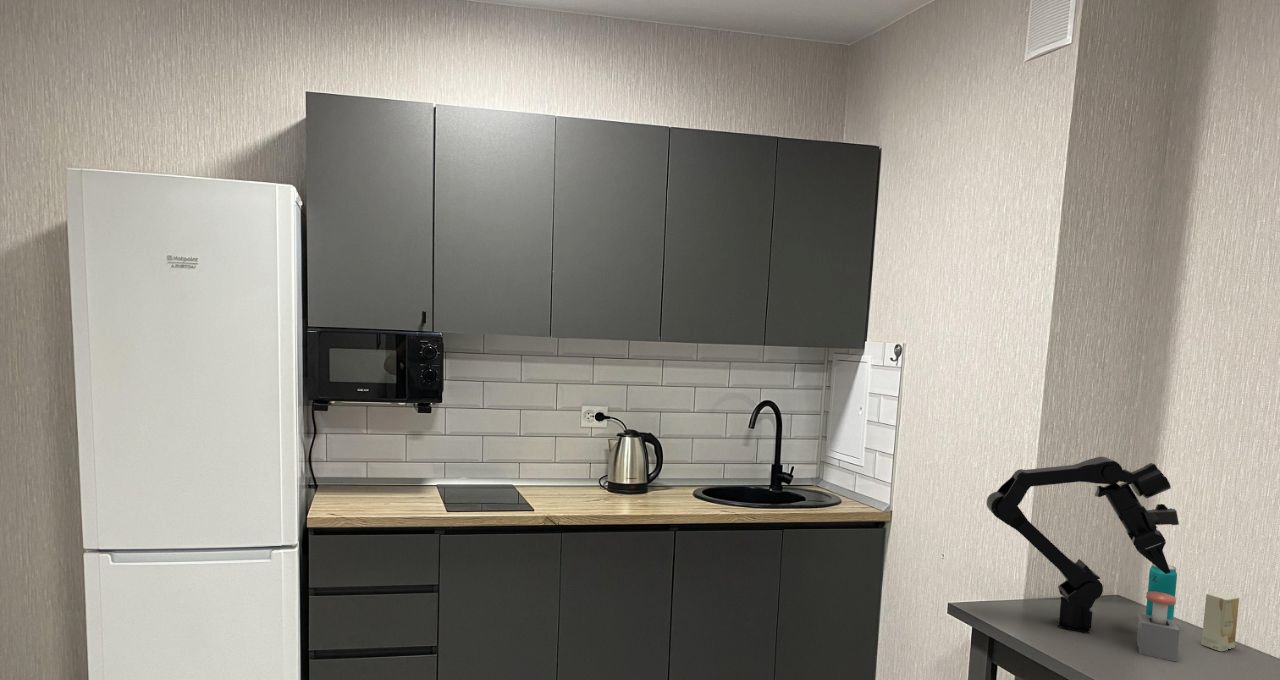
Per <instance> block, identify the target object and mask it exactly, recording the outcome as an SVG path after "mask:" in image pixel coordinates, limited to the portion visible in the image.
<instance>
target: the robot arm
mask: <svg viewBox="0 0 1280 680" xmlns="http://www.w3.org/2000/svg"><path fill="white" fill-rule="evenodd" d="M1080 482H1081V483H1091V484H1097V486H1096V491H1095V493H1094V496H1095V497H1097V498H1101V497H1104V496H1105V497H1106V499H1107V500H1108V503H1109V504H1110V506H1111V507H1112V509H1113V511H1114V512H1115V514H1116V515H1117V517H1118V520H1119V521H1120V522H1121V524H1122V525H1123V527H1124V528H1125V530H1126V532H1125V533H1126V534H1127V535H1128V537H1129V539H1130V540H1131V542H1132V544H1133V546H1134V548H1135V549H1136V550H1137V552H1138V553H1139V554H1140V555H1142V556H1143V557H1144V558H1145V559H1147V561H1149V562H1150V563H1151V564H1152V563H1153V564H1154V565H1155V566H1156V567H1158V568H1159V569H1160V570H1161V571H1163V572H1164V573H1165V574H1168V573H1170V569H1169V567H1168V565H1169V564H1168V560H1167V559H1166V556H1165V552H1164V547H1165V545H1166V543H1167V542H1166V539H1165V537H1164V535H1163V533H1162V532H1161V531H1160V530H1158V529H1157V528H1158V526H1163V525H1164V526H1166V525H1167V526H1168V525H1171V526H1179V525H1180V523H1179V522H1180V521H1179V516H1178V511H1177V510H1176V509H1175V508H1172V507H1171V508H1168V507H1167V505H1166V504H1165V503H1159V504H1156V506H1155V508H1154V509H1153V508H1152V509H1147V508H1146V507H1145V506H1144V505H1142V503H1141V502H1140V500H1139V499H1138V497H1139V498H1140V497H1142V496H1143V498H1145V499H1146V500H1147V499H1149V498H1150V499H1151V498H1153V497H1154V496H1157V495H1159V494H1161V493H1163V492H1166V491H1168V490H1171V484H1170V482H1169V480H1168V478H1167V477H1166V476H1165V475H1164V473H1162V471H1161V470H1160V469H1159V468H1158V466H1157V465H1156V464H1155V463H1152V462H1150V463H1147V464H1146V465H1144V466H1143V467H1141V468H1139V469H1135V470H1134V471H1130V470H1128V469H1123V467H1122V465H1121V464H1120V463H1119V462H1117V461H1115V460H1113V459H1111V458H1109V457H1106V456H1097V457H1093V458H1089V459H1086V460H1084V461H1081V462H1078V463H1074V464H1069V465H1060V466H1058V465H1057V466H1050V467H1041V468H1031V469H1022V468H1021V469H1017V470H1015V472H1014V473H1012V476H1011V477H1010V478H1008V479H1007V480H1006V481H1005V482H1004V483H1003V484H1002V485H1000V487H999V488H998V489H997V491H995V492H992V493H990V494H989V495H988V496H987V498H986V507H987V508H988V510H989V511H990V512H991V513H992V514H993V516H994V517H996V518H997V519H998V520H1000V521H1002V522H1003V524H1006V525H1007V526H1009V527H1010V528H1013V529H1014V530H1016V531H1017V532H1018V533H1019V534H1020V535H1022V536H1023V538H1025V539H1026V540H1027V541H1028V542H1029V543H1030V544H1031V545H1032V546H1033V547H1034V548H1035V549H1037V550H1038V552H1040V554H1042V555H1043V556H1044V557H1045V558H1046V559H1047V560H1048V561H1049V562H1050V563H1051V564H1052V565H1053V566H1054V567H1056V569H1058V571H1059V572H1060V574H1061V575H1062V576H1063V578H1064V579H1065V580H1064V581H1063V582H1062V583H1060V584H1059V585H1058V586H1057V589H1058V592H1059V594H1060V595H1061V596H1060V601H1059V612H1058V613H1059V614H1058V618H1057V619H1058V620H1057V627H1059V628H1062V629H1063V628H1064V629H1067V630H1072V631H1077V632H1082V633H1085V634H1086V633H1087V634H1089V633H1090V629H1092V624H1093V623H1092V622H1093V609H1092V608H1093V606H1094V604H1095V602H1096V600H1097V599H1099V598H1100V597H1101V596H1102V595H1103V591H1104V586H1103V584H1102V582H1101V581H1100V579H1101V577H1100V576H1099V575H1098V574H1097V573H1096V572H1095V571H1093V569H1090V567H1089V566H1088V564H1086V563H1085V562H1084V561H1082V560H1081V558H1078V559H1077V560H1076V561H1073V560H1072V559H1071V558H1069V557H1068V556H1066V555H1065V553H1064V552H1062V551H1061V550H1060V549H1059V548H1058V547H1057V546H1056V545H1055V544H1054V543H1052V541H1051V540H1050V539H1048V538H1047V536H1045V535H1044V534H1043V533H1042V532H1041V531H1040V530H1039V529H1038V528H1036V526H1035V525H1033V524H1032V522H1030V521H1029V520H1028V518H1027V516H1026V515H1025V514H1024V512H1022V510H1021V509H1020V507H1019V505H1020V504H1021V503H1022V501H1023V500H1024V498H1025V496H1026V494H1027V492H1028V491H1029V489H1030V488H1033V487H1039V486H1042V487H1043V486H1051V485H1060V484H1070V483H1080ZM1119 482H1121V483H1120V484H1118V483H1119ZM1099 484H1100V485H1099ZM1102 485H1104V486H1102ZM1137 496H1138V497H1137Z"/></svg>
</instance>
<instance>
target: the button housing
mask: <svg viewBox="0 0 1280 680" xmlns="http://www.w3.org/2000/svg"><path fill="white" fill-rule="evenodd" d="M1151 621H1152V616H1149V615H1146V614H1143V613H1138V626H1137V627H1138V628H1137V637H1136V645H1137V649H1138V653H1140V655H1144V656H1149V657H1153V658H1159V659H1163V660H1168V661H1172V662H1176V663H1177V661H1178V652H1179V650H1178V649H1179V641H1180V639H1179V638H1180V629H1179V626H1178V624H1177V621H1176V620H1174V619H1173V620H1169V619H1167V621H1166V625H1162V624H1157V623H1152V622H1151Z"/></svg>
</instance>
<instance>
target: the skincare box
mask: <svg viewBox="0 0 1280 680" xmlns="http://www.w3.org/2000/svg"><path fill="white" fill-rule="evenodd" d="M1204 603H1205V606H1204V613H1203V614H1204V615H1203V624H1202V632H1201V633H1202V635H1201V641H1200V642H1201V645H1202V646H1205V647H1207V648H1210V649H1212V650H1215V651H1218V652H1226V651H1229V650H1228V649H1231V648H1233V647H1234V648H1235V645H1236V635H1237V634H1236V633H1237V626H1238V613H1239V604H1240V597H1238V596H1234V595H1232V594H1229V593H1225V592H1222V591H1218V592H1210V593H1206V594H1205V602H1204ZM1231 650H1232V649H1231Z"/></svg>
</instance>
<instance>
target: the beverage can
mask: <svg viewBox="0 0 1280 680" xmlns="http://www.w3.org/2000/svg"><path fill="white" fill-rule="evenodd" d="M1168 567H1169V569H1170V573H1168V574H1165V573H1164V572H1163V571H1161V570H1160V569H1159V568H1158V567H1156V566H1155V565H1154V564H1153V563H1152V562H1151V566H1150V568H1149V572H1148V583H1147V585H1148V586H1147V592H1148V591H1156V592H1162V593H1166V594H1169V595H1172V596H1174V597H1175V598H1176V593H1177V592H1176V589H1177V583H1178V582H1177V581H1178V580H1177V579H1178V573H1177V567H1176V566H1174V565H1173V564H1172V565H1170V564H1168ZM1145 605H1146V607H1145V615H1149V616H1152V610H1153V602H1152V601H1150V600H1148V599H1147V598H1146V604H1145ZM1174 615H1175V605H1168V610H1167V619H1169V620H1174Z"/></svg>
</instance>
